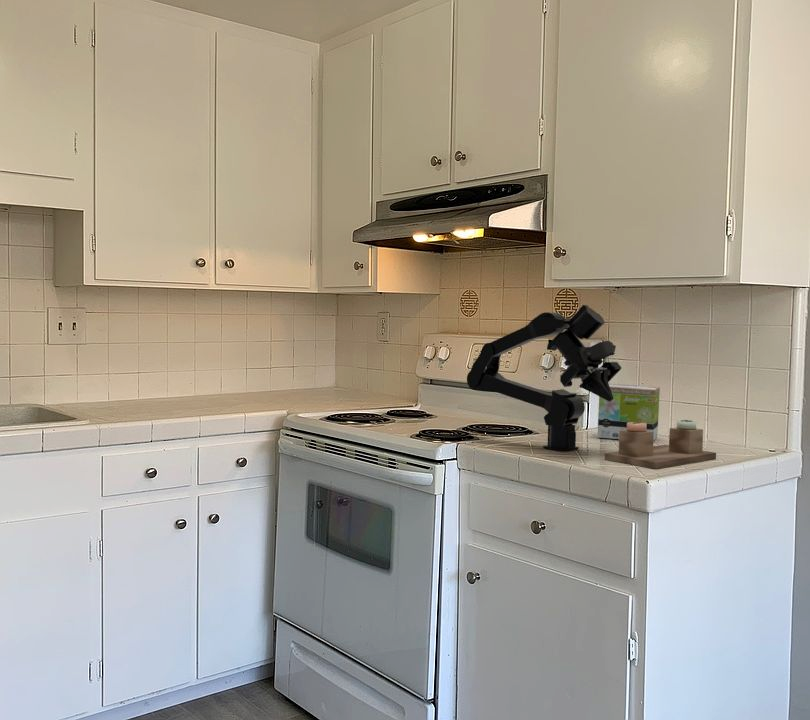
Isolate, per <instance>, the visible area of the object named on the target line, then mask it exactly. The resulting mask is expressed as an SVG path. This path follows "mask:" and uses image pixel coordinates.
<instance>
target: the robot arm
mask: <svg viewBox="0 0 810 720" xmlns="http://www.w3.org/2000/svg"><path fill="white" fill-rule="evenodd" d="M605 323H606V322H605V320H604V318H603V316H602V315H601V314H600V313H598V312H597V311H596V310H594V309H592V308H591V307H589V305H587V304H582V305H581V306H580V307H579V309H578V311H577V312H575V314H574V315H573V316H572V317H570V318H565V317H564V316H563V314H561V313H559V312H549V311H548V312H546V311H545V312H541V313H540V314H538V315H537V316H536V317H534V318H533V319H531V320H530V321H529V323H528V324H527V325H525V326H523V327H521V328H519V329H517V330H515V331H513V332H510V333H509V334H506V335H504V336H502V337H499V338H497V339H495V340H493V341H491V342H487V343H485V344H484V345H482V348H481V349H480V352H479V355H478V356H477V358H476V359H475V360H474V362H473V364H471V365H472V366H471V369H470V370H469V372H468V373H467V375H466V383H467V385H468V388H469V390H470V389H471V390H472V391H476V392H486V393H497V394H501V395H503V396H507V397H509V398H513V399H515V400H519V401H522V402H524V403H528V404H530V405H533V406H536V407H539V408H542V409H544V410H545V411H546V412H547V413H546V414H545V415H544V416H543V420H544V423H545V426H547V444H545V445H542V446H543V448H544V449H550V450H555V451H559V452H565V451H573V450H579V449H580V448H579V446H576V444H577V432H576V425H574V424H578V423H579V419H580V417H582V416H583V415H584V412H585V409H586V406H585V402H584V401H583V398H582V397H580V396H578V393H577V392H574V393H573V392H570V391H568V390H566V389H564V388H568V387H572V385H573V381H572V380H575V379H576V380H578V379H579V380H580V381H581V383H580V385H578V386H579V388H580V389H583V390H586V391H588V392H590V393H592V394H594V395H596V396H598V397H599V396H600V397H601V398H603V399H605V400H607V401H612V400H613V395H612V392H611V390H610V387H609V384H610V381H611V380H612V379H613V378H615V376H616V375H617V374H618V373H619V372H620V371H621V370H622V366H621V364H619V362H617V361H605V362H604V360H603V359H605V358H608V357H610V356H613V355H615V354H616V353H615V352H616V346H617V345H615V344H614V343H613V342H612V341H610V340H604V341H600V342H597V343H595V344H593V345H591V346H585V345H584V343H583V342H582V341H581V340H583V339H585V340H589V339H591V337H592V336H593V335H594V334H595V333H596V332H597V331H598V330H600V329H601V328H602V326H604V325H605ZM554 336H555V337H554ZM549 337H554V338H553V339H550V338H549ZM544 338H549V339H548V340H547V342H548V343H547V345H546V350H547V351H554V352H555V351H559V353H560V355H561V356H562V357H563V359H564V360H565V361H564V362H563V364H564V365H565V366H566V367H567V368H566V369H565V370H564V371H563V372H562V373H561V374H560V375H559V381H560V384H561V385H562V386H563V387H564V388H562V389H554V390H552V391H551V392H548V391H545V390H542V389H539V388H535V387H532V386H529V385H526V384H523V383H520V382H516V381H514V380H511V379H508V378H506V377H504V376H503V374H501V373H500V372H499V370H500V361H501V356H502V355H503V354H504V355H505V354H507V353H508V352H510V351H513V350H515V349H517V348H519V347H522V346H524V345H526V344H528V343H532V342H533V341H535V340H538V339H539V340H540V339H544ZM603 362H604V363H603ZM600 365H601V366H600Z"/></svg>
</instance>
